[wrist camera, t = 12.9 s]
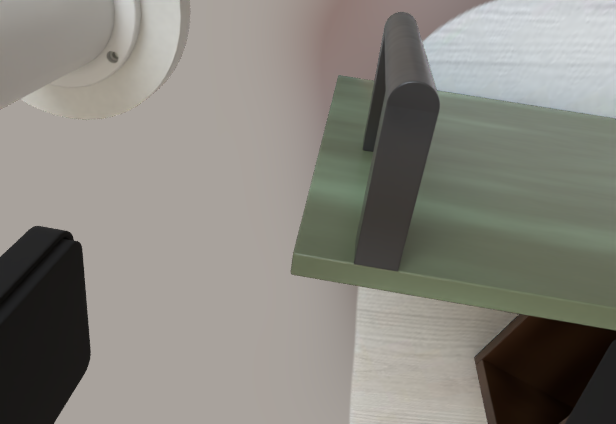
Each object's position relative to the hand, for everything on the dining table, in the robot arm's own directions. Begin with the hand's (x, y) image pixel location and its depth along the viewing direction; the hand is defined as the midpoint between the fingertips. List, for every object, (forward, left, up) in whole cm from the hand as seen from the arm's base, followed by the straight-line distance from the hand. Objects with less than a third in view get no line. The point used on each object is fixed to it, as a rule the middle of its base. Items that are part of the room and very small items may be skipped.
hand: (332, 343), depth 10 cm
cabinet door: (+10, +6, -33) cm, 35 cm away
